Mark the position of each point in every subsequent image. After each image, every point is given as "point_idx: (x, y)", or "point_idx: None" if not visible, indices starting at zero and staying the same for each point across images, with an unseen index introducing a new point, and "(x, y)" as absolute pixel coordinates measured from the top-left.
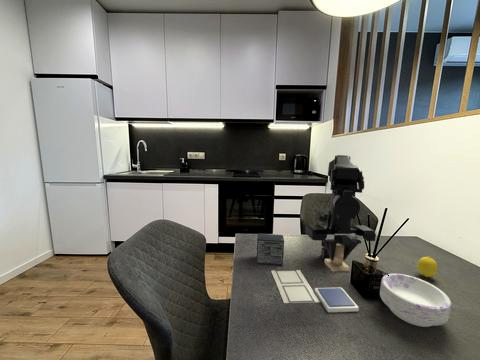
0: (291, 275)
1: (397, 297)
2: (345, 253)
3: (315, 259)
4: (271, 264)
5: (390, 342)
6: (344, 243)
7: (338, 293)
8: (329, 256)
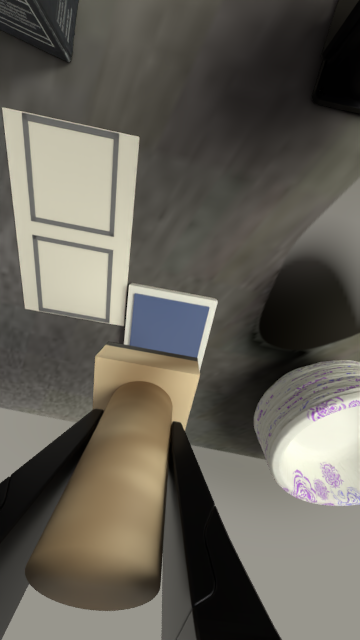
0: (86, 173)
1: (269, 460)
2: (165, 513)
3: (290, 22)
4: (8, 32)
5: (193, 428)
6: (180, 624)
7: (183, 327)
8: (80, 423)
